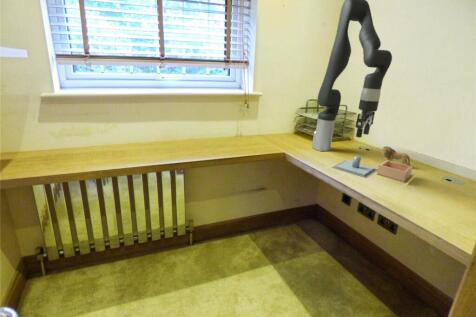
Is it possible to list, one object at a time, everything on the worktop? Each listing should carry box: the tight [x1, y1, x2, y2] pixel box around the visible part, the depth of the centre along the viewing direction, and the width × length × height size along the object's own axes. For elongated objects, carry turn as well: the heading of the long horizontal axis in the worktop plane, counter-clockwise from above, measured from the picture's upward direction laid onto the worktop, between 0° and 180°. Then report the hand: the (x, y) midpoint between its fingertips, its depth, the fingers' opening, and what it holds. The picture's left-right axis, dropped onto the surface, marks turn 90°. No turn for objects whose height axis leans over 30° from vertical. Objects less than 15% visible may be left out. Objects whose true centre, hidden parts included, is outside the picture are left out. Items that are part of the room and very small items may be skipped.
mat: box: [331, 160, 378, 179], centre depth 133 cm, size 16×16×1 cm
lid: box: [336, 155, 376, 176], centre depth 132 cm, size 13×13×6 cm
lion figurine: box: [381, 145, 412, 166], centre depth 142 cm, size 15×5×9 cm, turn 66°
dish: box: [376, 159, 414, 183], centre depth 127 cm, size 11×11×5 cm
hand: (362, 135), depth 128 cm, fingers open, 8 cm apart
